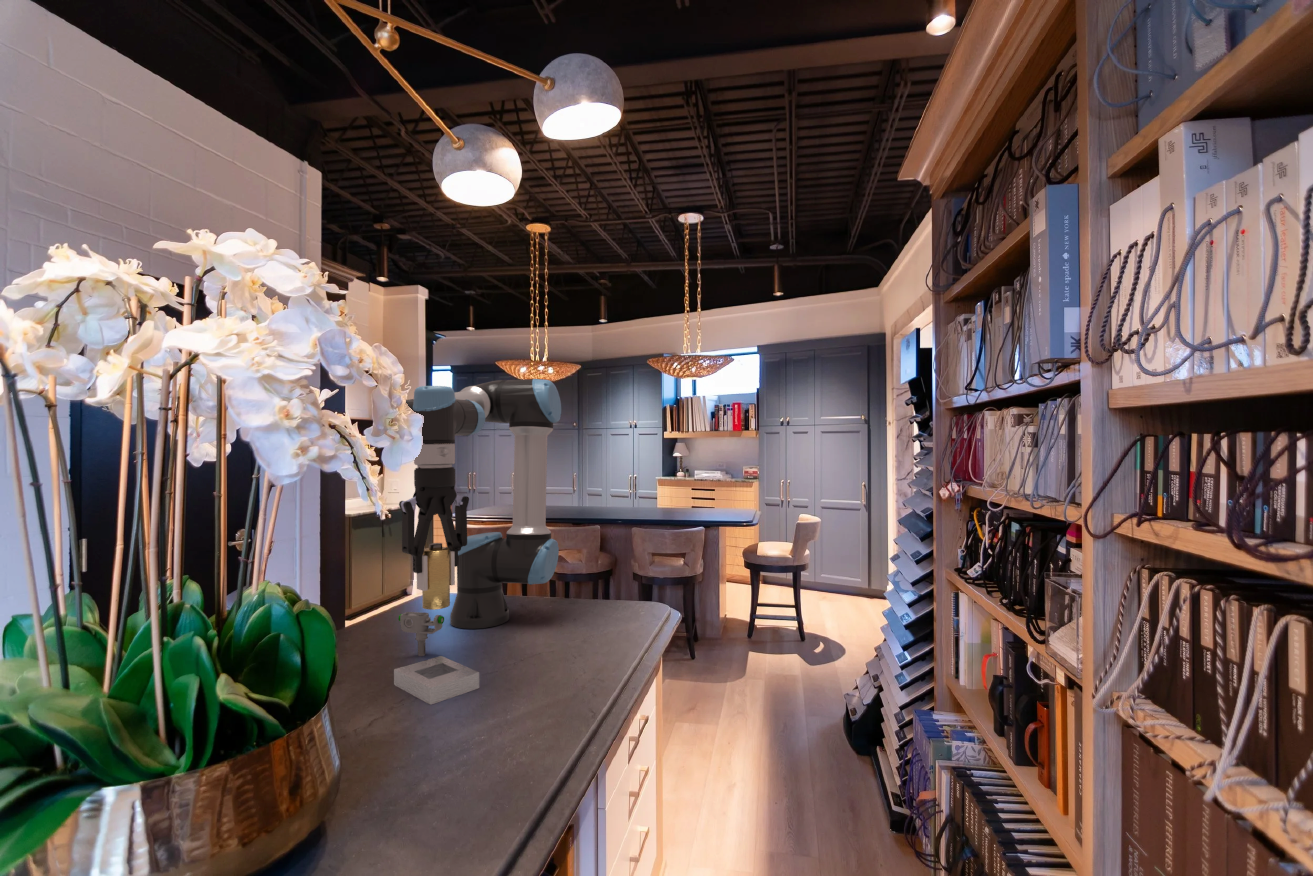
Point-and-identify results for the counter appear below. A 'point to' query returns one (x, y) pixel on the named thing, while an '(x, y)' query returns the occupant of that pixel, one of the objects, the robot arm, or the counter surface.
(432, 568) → the brass capped cylinder
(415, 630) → the mechanical component
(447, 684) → the housing
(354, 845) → the counter surface
